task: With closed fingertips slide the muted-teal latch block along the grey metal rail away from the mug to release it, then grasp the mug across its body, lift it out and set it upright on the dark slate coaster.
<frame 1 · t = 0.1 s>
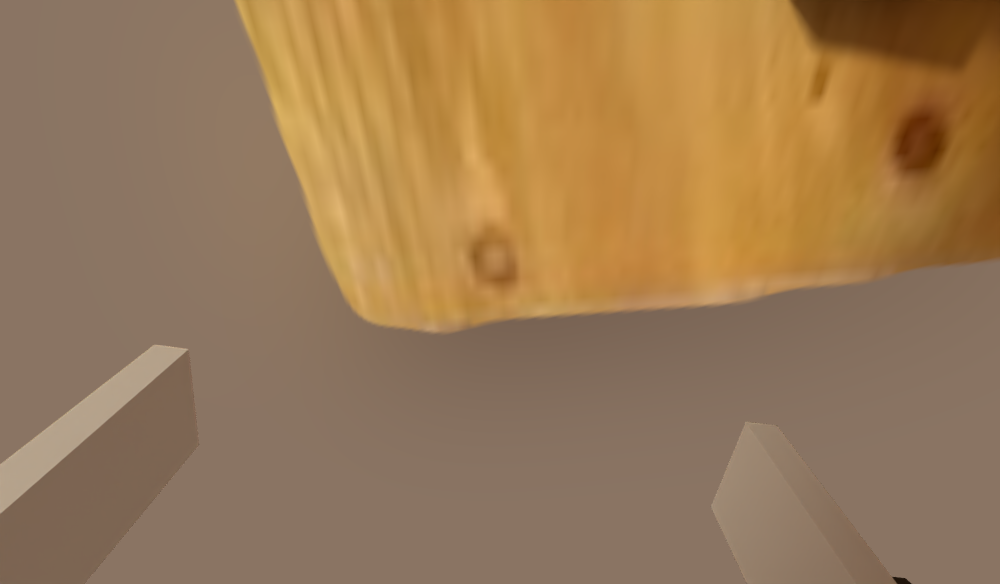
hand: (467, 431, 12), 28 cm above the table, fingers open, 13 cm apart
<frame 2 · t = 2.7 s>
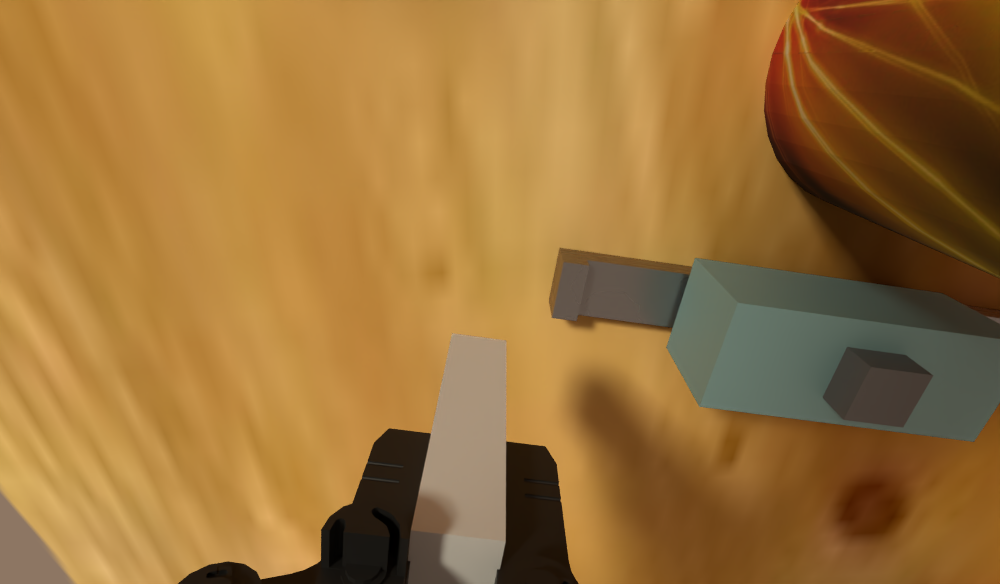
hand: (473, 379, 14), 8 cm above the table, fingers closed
latch block: (838, 354, 18), point 4 cm above the table, slide at 0.0 cm
mug: (903, 10, 18), on the table
rail: (852, 316, 22), on the table
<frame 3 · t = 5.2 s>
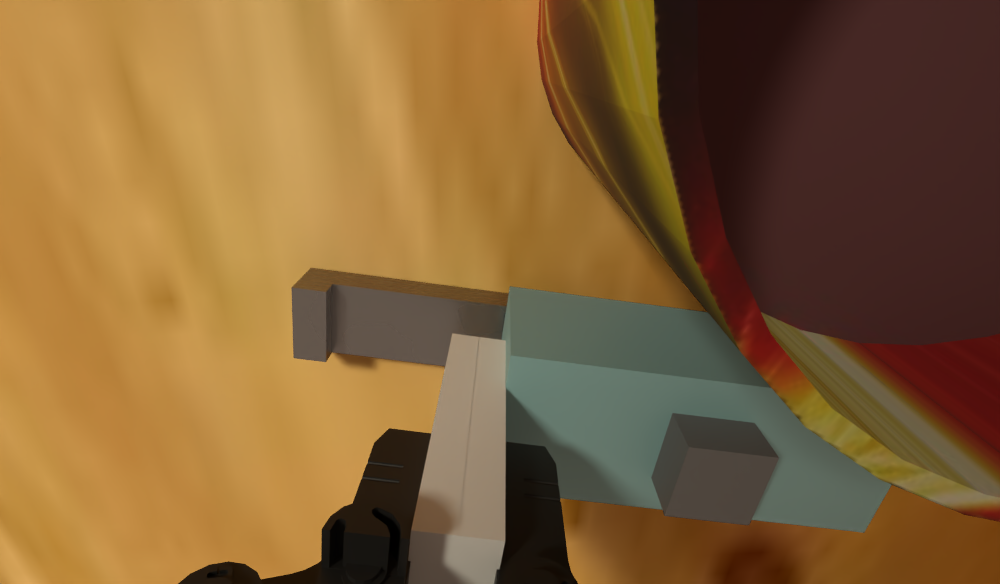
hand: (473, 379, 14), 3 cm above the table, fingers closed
latch block: (683, 415, 14), point 4 cm above the table, slide at 1.3 cm, touching gripper
rail: (695, 350, 18), on the table
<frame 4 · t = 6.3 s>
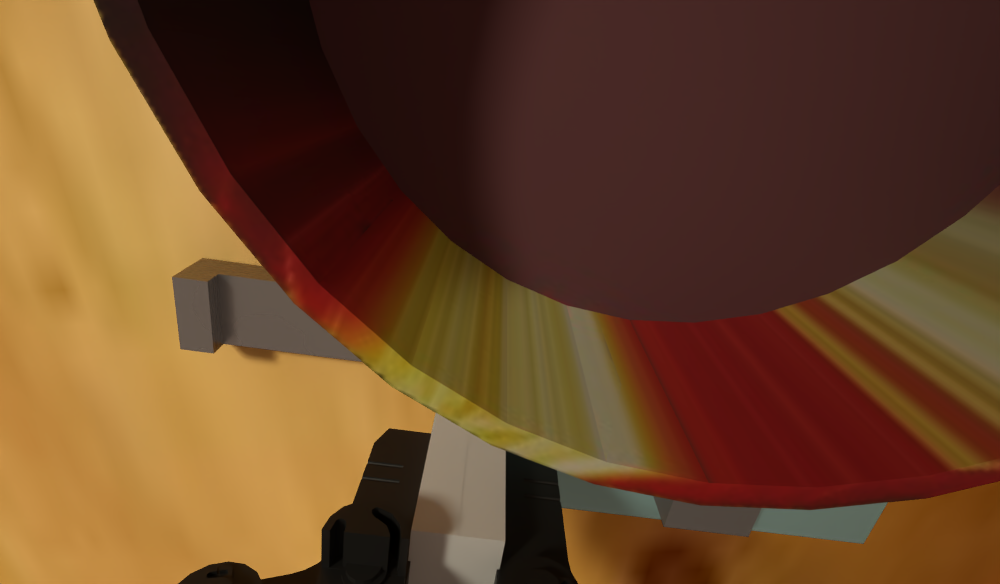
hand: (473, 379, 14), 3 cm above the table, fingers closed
latch block: (683, 425, 14), point 4 cm above the table, slide at 4.7 cm, touching gripper
rail: (597, 345, 17), on the table
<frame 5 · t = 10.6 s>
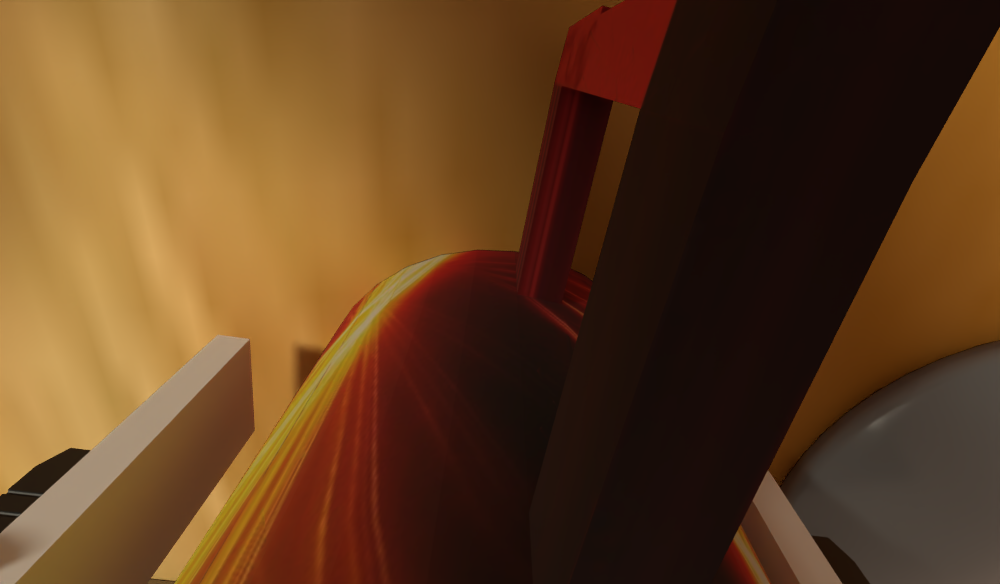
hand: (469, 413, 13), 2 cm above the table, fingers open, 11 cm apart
coaster: (985, 524, 16), on the table
mug: (470, 342, 14), on the table, touching gripper
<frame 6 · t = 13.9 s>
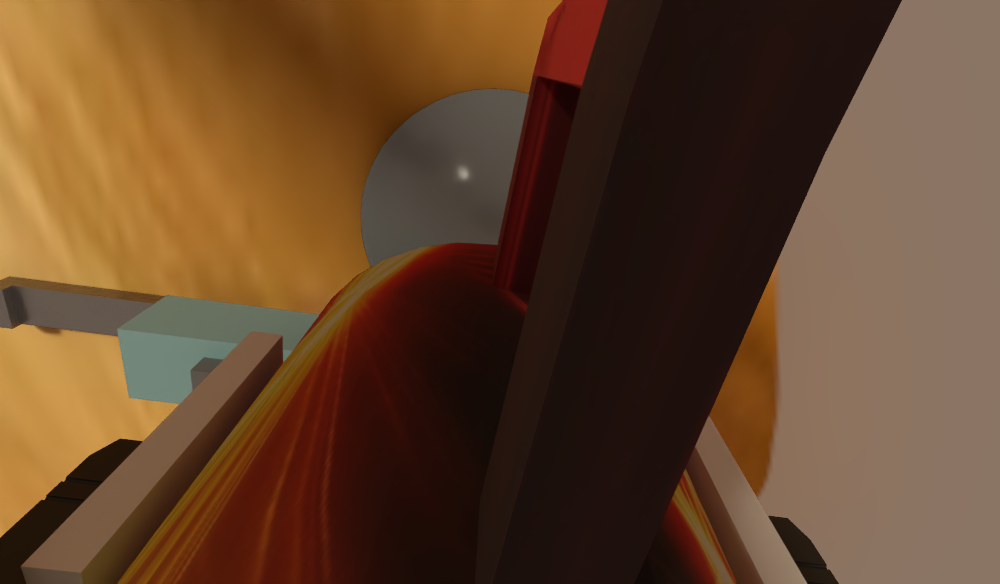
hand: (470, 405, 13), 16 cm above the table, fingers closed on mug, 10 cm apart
coaster: (493, 226, 28), on the table
latch block: (239, 362, 27), point 4 cm above the table, slide at 4.7 cm
mug: (450, 335, 14), point 15 cm above the table, touching gripper
rail: (241, 324, 30), on the table
when the fingers open (3 cm above the table, at t = 16.8 s): mug stays where it is, resting on coaster.
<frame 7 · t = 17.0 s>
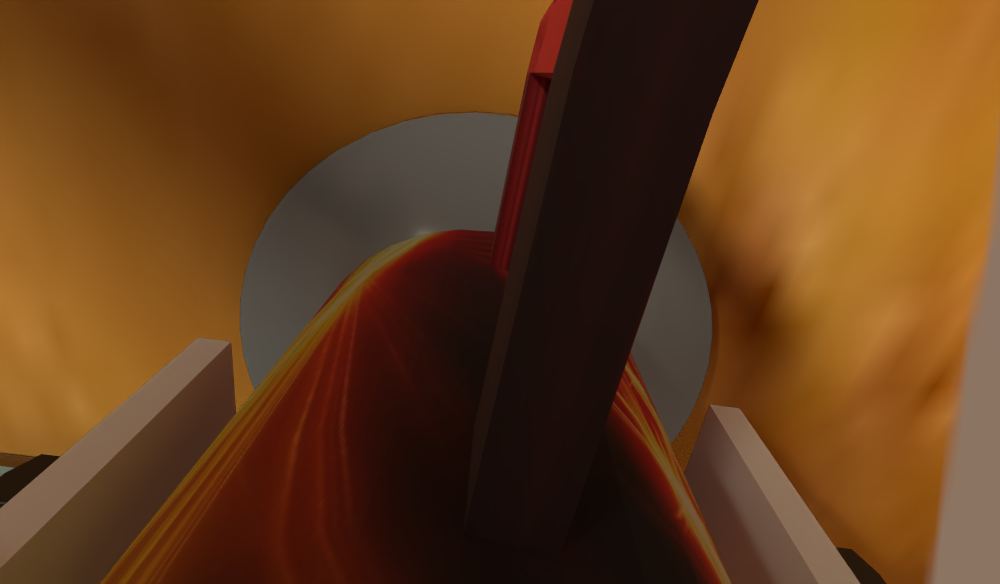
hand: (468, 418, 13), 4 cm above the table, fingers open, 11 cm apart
coaster: (476, 346, 16), on the table
mug: (452, 318, 15), point 1 cm above the table, touching coaster
rail: (67, 486, 19), on the table
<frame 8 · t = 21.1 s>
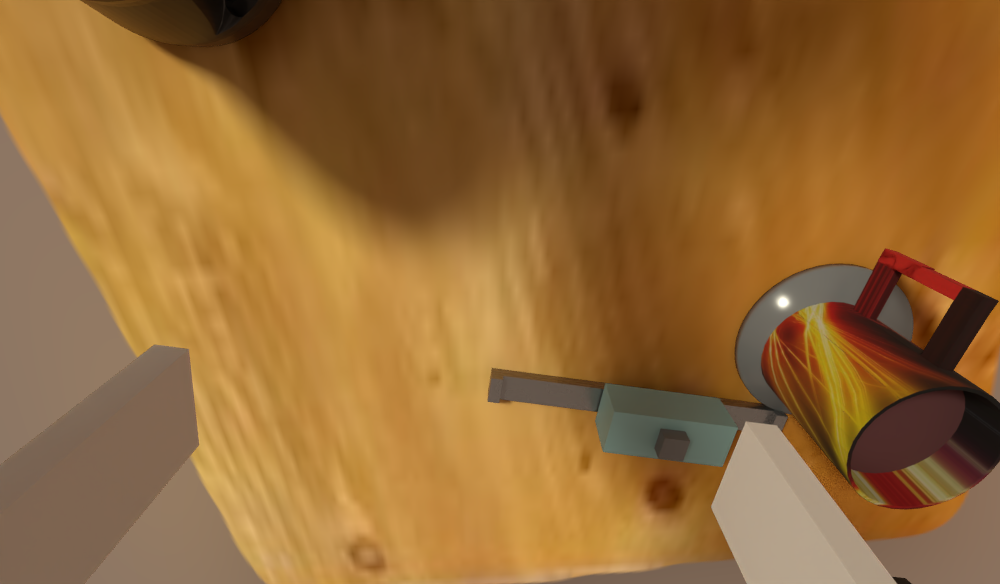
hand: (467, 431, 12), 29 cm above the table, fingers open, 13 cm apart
coaster: (819, 341, 44), on the table
latch block: (664, 428, 43), point 4 cm above the table, slide at 4.7 cm
mug: (818, 331, 43), point 1 cm above the table, touching coaster
rail: (633, 398, 46), on the table
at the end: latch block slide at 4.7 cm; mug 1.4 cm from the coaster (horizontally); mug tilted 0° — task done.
